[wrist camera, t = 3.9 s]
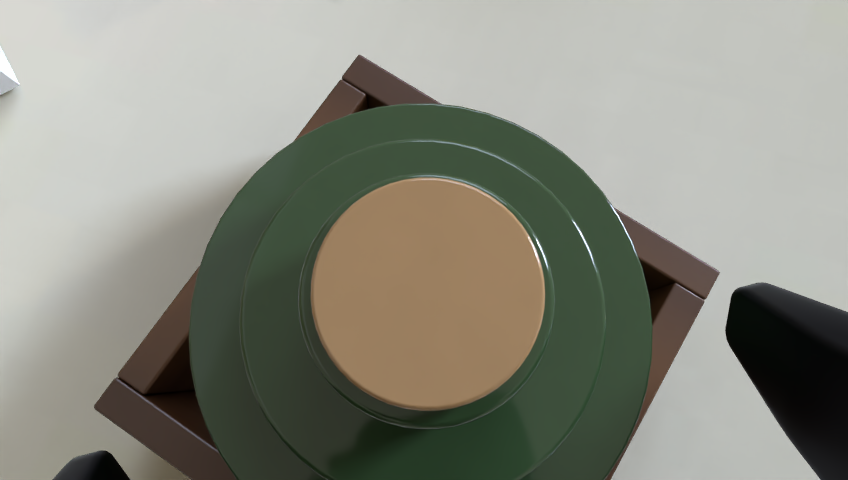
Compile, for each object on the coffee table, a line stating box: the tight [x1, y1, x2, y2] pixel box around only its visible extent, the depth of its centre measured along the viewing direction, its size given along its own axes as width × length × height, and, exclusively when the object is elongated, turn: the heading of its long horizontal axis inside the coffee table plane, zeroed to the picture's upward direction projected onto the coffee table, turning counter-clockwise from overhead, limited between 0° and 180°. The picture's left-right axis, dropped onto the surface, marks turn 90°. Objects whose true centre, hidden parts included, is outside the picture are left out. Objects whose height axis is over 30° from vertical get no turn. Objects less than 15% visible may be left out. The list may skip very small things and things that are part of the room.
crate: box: [94, 55, 720, 480], centre depth 15 cm, size 10×10×4 cm
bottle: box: [189, 103, 653, 480], centre depth 11 cm, size 6×6×11 cm
